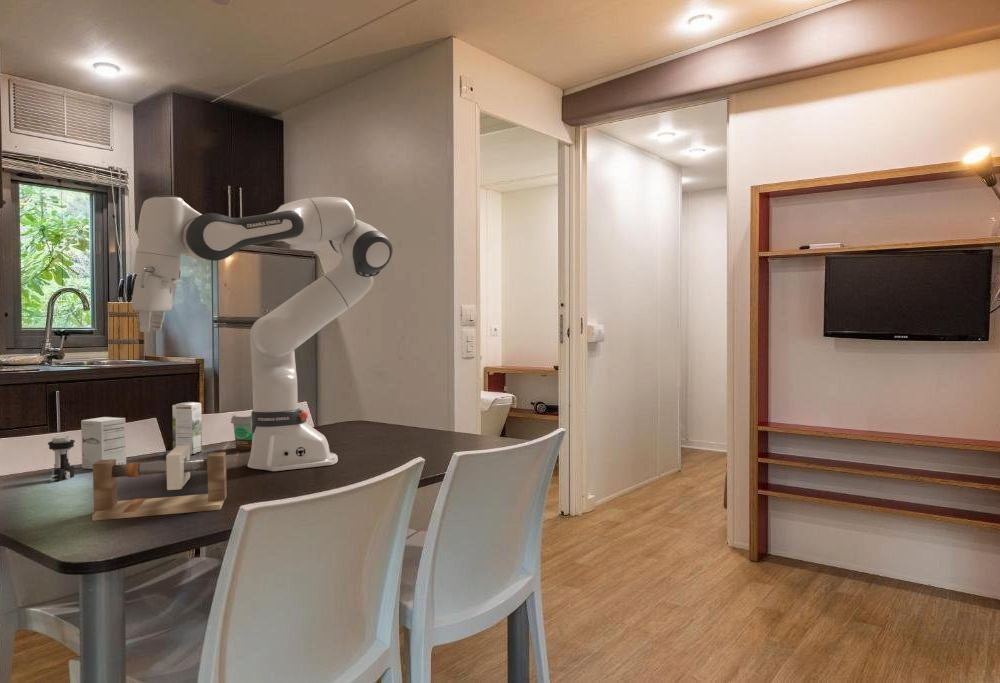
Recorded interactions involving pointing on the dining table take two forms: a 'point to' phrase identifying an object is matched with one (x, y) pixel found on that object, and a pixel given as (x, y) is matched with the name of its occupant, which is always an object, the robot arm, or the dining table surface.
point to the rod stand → (113, 509)
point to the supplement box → (103, 440)
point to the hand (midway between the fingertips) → (150, 331)
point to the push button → (61, 458)
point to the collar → (177, 467)
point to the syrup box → (187, 426)
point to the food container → (242, 432)
